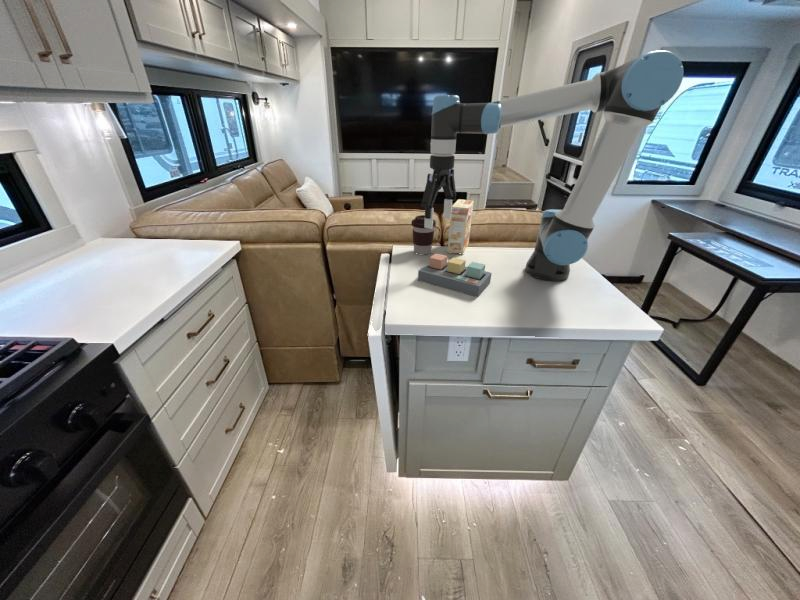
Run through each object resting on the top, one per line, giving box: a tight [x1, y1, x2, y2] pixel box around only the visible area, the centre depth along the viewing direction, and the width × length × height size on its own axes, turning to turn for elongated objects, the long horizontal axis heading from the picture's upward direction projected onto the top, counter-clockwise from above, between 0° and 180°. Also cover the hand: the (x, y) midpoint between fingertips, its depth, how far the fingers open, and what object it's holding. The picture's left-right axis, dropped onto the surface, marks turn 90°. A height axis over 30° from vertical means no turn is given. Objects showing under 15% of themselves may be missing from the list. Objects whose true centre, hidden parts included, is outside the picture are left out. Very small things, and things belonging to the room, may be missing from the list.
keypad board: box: [417, 261, 493, 298], centre depth 112 cm, size 22×12×4 cm, turn 58°
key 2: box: [466, 261, 486, 279], centre depth 108 cm, size 5×5×4 cm
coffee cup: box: [410, 214, 437, 255], centre depth 134 cm, size 10×10×15 cm
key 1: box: [428, 253, 448, 270], centre depth 115 cm, size 5×5×4 cm
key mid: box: [447, 257, 467, 274], centre depth 111 cm, size 5×5×4 cm
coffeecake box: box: [447, 198, 475, 255], centre depth 138 cm, size 15×7×20 cm, turn 160°
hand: (438, 223), depth 109 cm, fingers open, 13 cm apart
